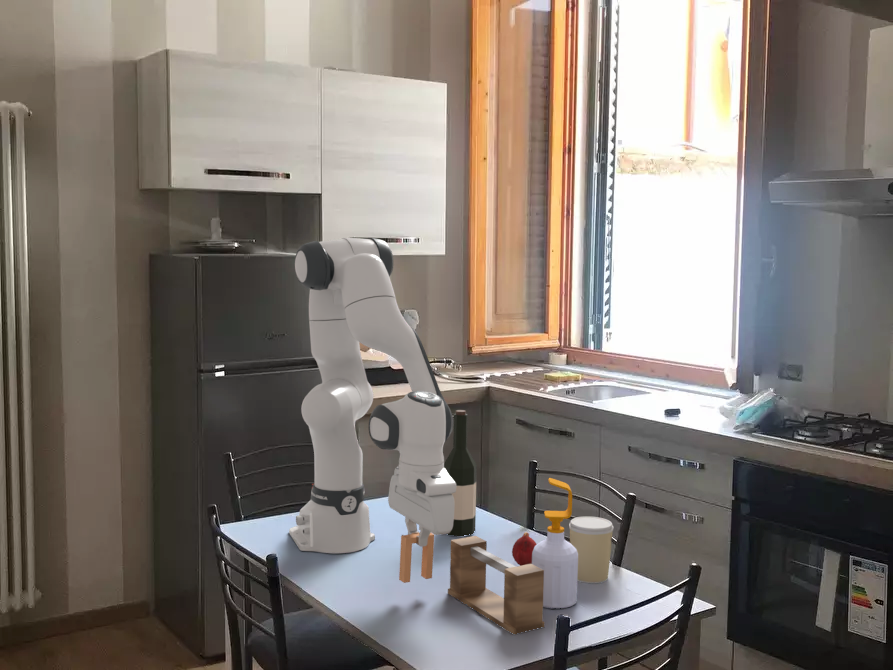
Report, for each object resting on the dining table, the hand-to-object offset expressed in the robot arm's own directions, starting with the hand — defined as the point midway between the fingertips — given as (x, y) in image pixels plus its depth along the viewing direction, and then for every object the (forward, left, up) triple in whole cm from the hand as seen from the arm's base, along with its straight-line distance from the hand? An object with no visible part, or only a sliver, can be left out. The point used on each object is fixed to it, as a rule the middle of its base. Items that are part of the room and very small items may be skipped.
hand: (417, 542), depth 188 cm
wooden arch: (0, 0, -7) cm, 7 cm away
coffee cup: (+8, +38, -12) cm, 41 cm away
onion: (-3, +29, -11) cm, 31 cm away
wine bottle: (-32, +30, -11) cm, 46 cm away
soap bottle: (+15, +23, -11) cm, 30 cm away
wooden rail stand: (+13, +10, -11) cm, 20 cm away
